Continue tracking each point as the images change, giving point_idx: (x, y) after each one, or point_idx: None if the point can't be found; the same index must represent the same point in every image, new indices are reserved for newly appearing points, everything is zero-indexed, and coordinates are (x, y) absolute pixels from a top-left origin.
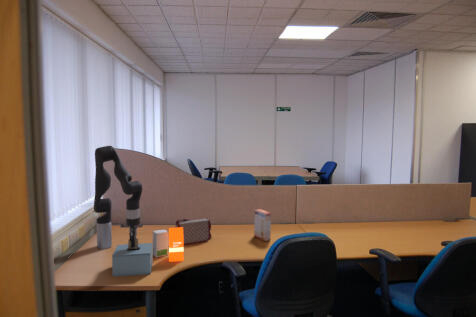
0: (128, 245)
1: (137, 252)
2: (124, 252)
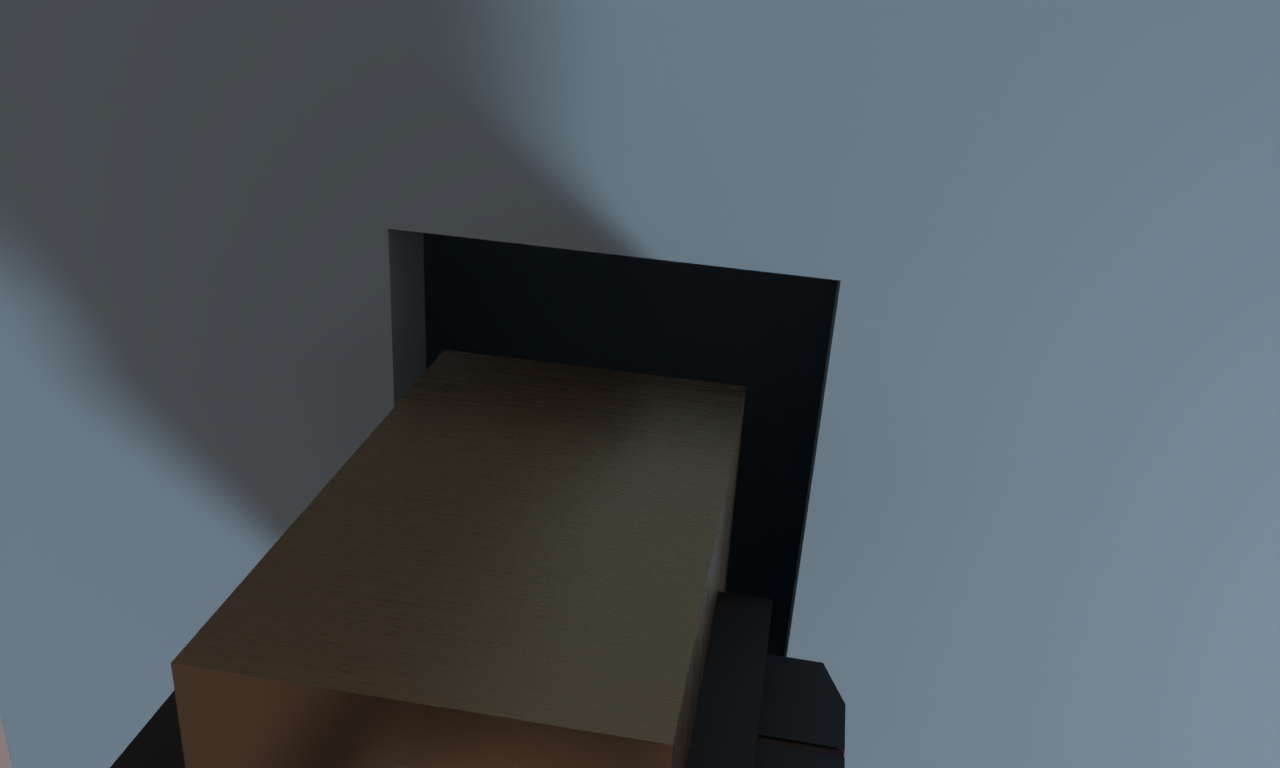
0: (358, 453)
1: (127, 677)
2: (136, 139)
